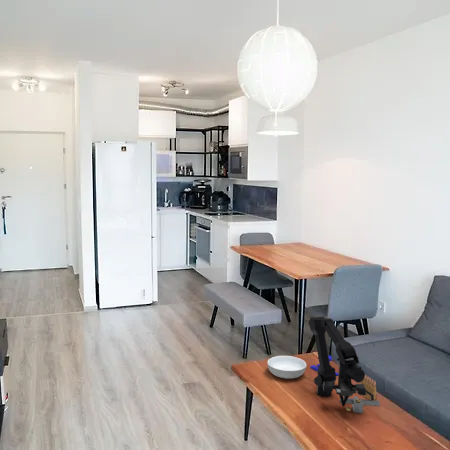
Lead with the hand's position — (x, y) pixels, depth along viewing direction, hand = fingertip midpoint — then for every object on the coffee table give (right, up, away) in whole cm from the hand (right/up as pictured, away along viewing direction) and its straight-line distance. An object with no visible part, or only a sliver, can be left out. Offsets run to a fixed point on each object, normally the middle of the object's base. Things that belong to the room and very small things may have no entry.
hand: (343, 405), depth 212 cm
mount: (+1, +1, +44) cm, 44 cm away
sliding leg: (+7, -2, +1) cm, 7 cm away
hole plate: (+8, -3, 0) cm, 9 cm away
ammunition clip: (+15, -2, +13) cm, 20 cm away
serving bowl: (-21, +1, +39) cm, 44 cm away
